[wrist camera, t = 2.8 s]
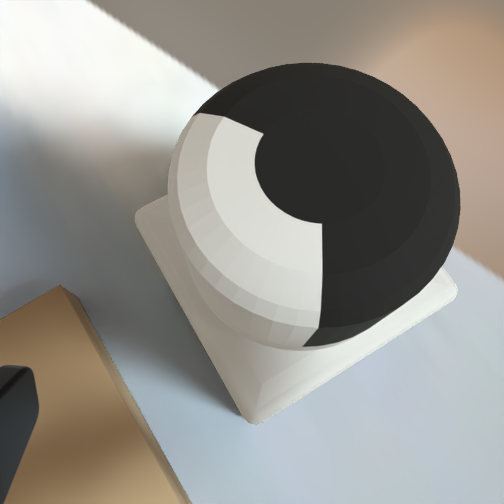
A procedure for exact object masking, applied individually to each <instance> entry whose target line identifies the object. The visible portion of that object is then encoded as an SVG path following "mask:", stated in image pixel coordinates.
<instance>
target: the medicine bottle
mask: <svg viewBox="0 0 504 504" xmlns="http://www.w3.org/2000/svg"><path fill="white" fill-rule="evenodd" d="M167 190H168V194H167V195H165V196H163V197H161V198H159V199H157V200H155V201H153V202H151V203H149V204H147V205H145V206H143V207H141V208H140V209H139V210H137V211H136V214H135V217H134V220H135V224H136V226H137V228H138V230H139V232H140V233H141V235H142V237H143V239H144V241H145V243H146V244H147V246H148V248H149V250H150V252H151V253H152V255H153V257H154V259H155V261H156V262H157V264H158V266H159V268H160V270H161V271H162V273H163V275H164V277H165V279H166V280H167V282H168V284H169V286H170V288H171V289H172V291H173V293H174V295H175V296H176V298H177V300H178V302H179V304H180V305H181V307H182V309H183V311H184V313H185V314H186V316H187V318H188V320H189V322H190V323H191V325H192V327H193V329H194V330H195V332H196V334H197V336H198V338H199V339H200V341H201V343H202V345H203V347H204V348H205V350H206V352H207V354H208V355H209V357H210V359H211V361H212V363H213V364H214V366H215V368H216V370H217V372H218V373H219V375H220V377H221V379H222V381H223V382H224V384H225V386H226V388H227V389H228V391H229V393H230V395H231V397H232V398H233V400H234V402H235V404H236V406H237V407H238V409H239V411H240V413H241V414H242V416H243V418H244V419H245V420H246V421H247V422H248V423H251V424H255V425H257V424H260V423H263V422H265V421H266V420H268V419H269V418H271V417H272V416H274V415H276V414H277V413H279V412H280V411H282V410H283V409H285V408H286V407H288V406H290V405H291V404H293V403H294V402H296V401H297V400H299V399H300V398H302V397H304V396H305V395H307V394H308V393H310V392H311V391H313V390H314V389H316V388H318V387H319V386H321V385H322V384H324V383H325V382H327V381H328V380H330V379H332V378H333V377H335V376H336V375H338V374H339V373H341V372H342V371H344V370H346V369H347V368H349V367H350V366H352V365H353V364H355V363H356V362H358V361H360V360H361V359H363V358H364V357H366V356H367V355H369V354H371V353H372V352H374V351H375V350H377V349H378V348H380V347H381V346H383V345H385V344H386V343H388V342H389V341H391V340H392V339H394V338H395V337H397V336H399V335H400V334H402V333H403V332H405V331H406V330H408V329H409V328H411V327H413V326H414V325H416V324H417V323H419V322H420V321H422V320H423V319H425V318H427V317H428V316H430V315H431V314H433V313H434V312H436V311H437V310H439V309H441V308H442V307H444V306H445V305H447V304H448V303H450V302H451V301H452V300H453V299H454V298H455V297H456V295H457V287H456V284H455V283H454V281H453V280H452V279H451V277H450V276H449V275H448V273H447V272H446V271H445V270H444V268H443V267H442V265H443V264H444V262H445V260H446V258H447V256H448V254H449V252H450V250H451V248H452V246H453V243H454V239H455V236H456V233H457V229H458V224H459V216H460V189H459V184H458V178H457V172H456V169H455V167H454V164H453V161H452V158H451V155H450V153H449V151H448V149H447V147H446V145H445V143H444V141H443V139H442V138H441V136H440V135H439V133H438V132H437V130H436V129H435V128H434V126H433V125H432V123H431V122H430V121H429V120H428V118H427V117H426V116H425V115H424V114H423V113H422V112H421V111H420V110H419V108H418V107H417V106H416V105H414V104H413V103H412V102H411V101H409V99H408V98H406V97H405V96H404V95H403V94H401V93H400V92H399V91H397V90H396V89H394V88H392V87H391V86H390V85H388V84H386V83H384V82H382V81H380V80H378V79H376V78H375V77H373V76H370V75H367V74H364V73H362V72H359V71H357V70H353V69H349V68H345V67H342V66H337V65H329V64H323V63H297V64H286V65H281V66H276V67H271V68H267V69H265V70H261V71H259V72H255V73H252V74H250V75H247V76H245V77H243V78H241V79H239V80H237V81H235V82H232V83H231V84H229V85H228V86H226V87H225V88H223V89H221V90H220V91H218V92H217V93H216V94H214V95H213V96H212V97H211V98H210V99H209V100H207V101H206V102H205V103H204V104H203V105H202V106H201V107H200V108H199V109H198V111H197V112H196V113H195V114H194V115H193V116H192V117H191V119H190V120H189V122H188V123H187V125H186V127H185V128H184V130H183V131H182V133H181V135H180V137H179V139H178V142H177V144H176V146H175V148H174V152H173V155H172V158H171V162H170V166H169V174H168V182H167Z"/></svg>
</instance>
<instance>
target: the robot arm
mask: <svg viewBox="0 0 504 504" xmlns="http://www.w3.org/2000/svg"><path fill="white" fill-rule="evenodd" d="M38 415H39V400H38V394H37V388H36V383H35V377H34V373H33V371H32V369H31V368H30V367H27V366H18V365H4V366H1V367H0V504H4V502H5V500H6V497H7V495H8V492H9V490H10V487H11V485H12V482H13V479H14V477H15V474H16V472H17V469H18V467H19V464H20V462H21V459H22V457H23V454H24V452H25V449H26V447H27V444H28V442H29V439H30V437H31V434H32V432H33V429H34V427H35V424H36V421H37V419H38Z"/></svg>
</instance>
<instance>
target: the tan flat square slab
mask: <svg viewBox="0 0 504 504" xmlns="http://www.w3.org/2000/svg"><path fill="white" fill-rule="evenodd" d="M4 365H18V366H27V367H30V368H31V369H32V371H33V373H34V377H35V383H36V388H37V394H38V400H39V415H38V419H37V421H36V424H35V427H34V429H33V432H32V434H31V437H30V439H29V442H28V444H27V447H26V449H25V452H24V454H23V457H22V459H21V462H20V464H19V467H18V469H17V472H16V474H15V477H14V479H13V482H12V485H11V487H10V490H9V492H8V495H7V497H6V500H5V502H4V504H192V503H191V501H190V500H189V498H188V496H187V494H186V492H185V491H184V489H183V487H182V485H181V483H180V482H179V480H178V478H177V476H176V474H175V473H174V471H173V469H172V467H171V465H170V464H169V462H168V460H167V458H166V456H165V455H164V453H163V451H162V449H161V447H160V445H159V444H158V442H157V440H156V438H155V436H154V435H153V433H152V431H151V429H150V427H149V426H148V424H147V422H146V420H145V418H144V417H143V415H142V413H141V411H140V409H139V408H138V406H137V404H136V402H135V400H134V399H133V397H132V395H131V393H130V391H129V390H128V388H127V386H126V384H125V382H124V381H123V379H122V377H121V375H120V373H119V372H118V370H117V368H116V366H115V364H114V362H113V361H112V359H111V357H110V355H109V353H108V352H107V350H106V348H105V346H104V344H103V343H102V341H101V339H100V337H99V335H98V334H97V332H96V330H95V328H94V326H93V325H92V323H91V321H90V319H89V317H88V316H87V314H86V312H85V310H84V308H83V307H82V305H81V303H80V301H79V299H78V298H77V297H76V296H75V295H74V294H72V293H71V292H69V291H68V290H67V289H65V288H64V287H62V286H61V285H59V286H58V287H56V288H54V289H52V290H51V291H49V292H47V293H46V294H44V295H42V296H40V297H39V298H37V299H35V300H33V301H32V302H30V303H28V304H26V305H25V306H23V307H21V308H20V309H18V310H16V311H14V312H13V313H11V314H9V315H7V316H6V317H4V318H2V319H1V320H0V367H1V366H4Z"/></svg>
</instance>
